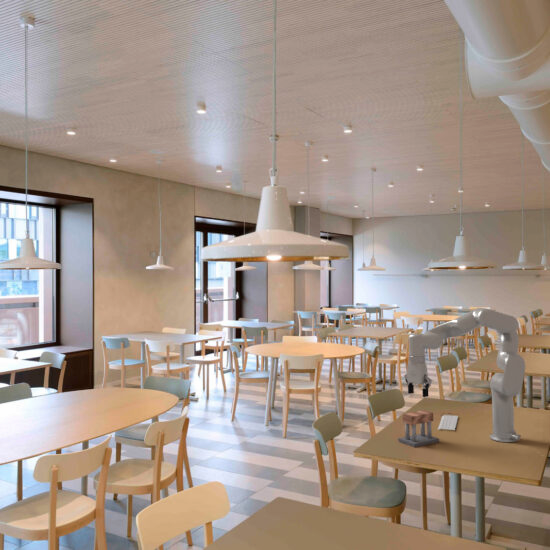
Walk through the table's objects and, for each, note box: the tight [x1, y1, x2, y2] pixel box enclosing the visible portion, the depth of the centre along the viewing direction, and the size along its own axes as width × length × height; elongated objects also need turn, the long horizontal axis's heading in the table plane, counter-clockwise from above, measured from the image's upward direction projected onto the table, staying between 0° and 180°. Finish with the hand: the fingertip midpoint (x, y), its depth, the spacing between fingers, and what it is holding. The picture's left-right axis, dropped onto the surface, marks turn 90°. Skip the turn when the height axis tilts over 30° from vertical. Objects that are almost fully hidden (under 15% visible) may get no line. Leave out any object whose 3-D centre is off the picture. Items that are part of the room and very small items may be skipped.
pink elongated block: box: [402, 409, 434, 426], centre depth 263 cm, size 14×6×4 cm, turn 119°
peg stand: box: [397, 421, 440, 448], centre depth 263 cm, size 11×16×10 cm
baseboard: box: [437, 412, 459, 432], centre depth 295 cm, size 30×3×10 cm
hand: (418, 395), depth 264 cm, fingers open, 9 cm apart
